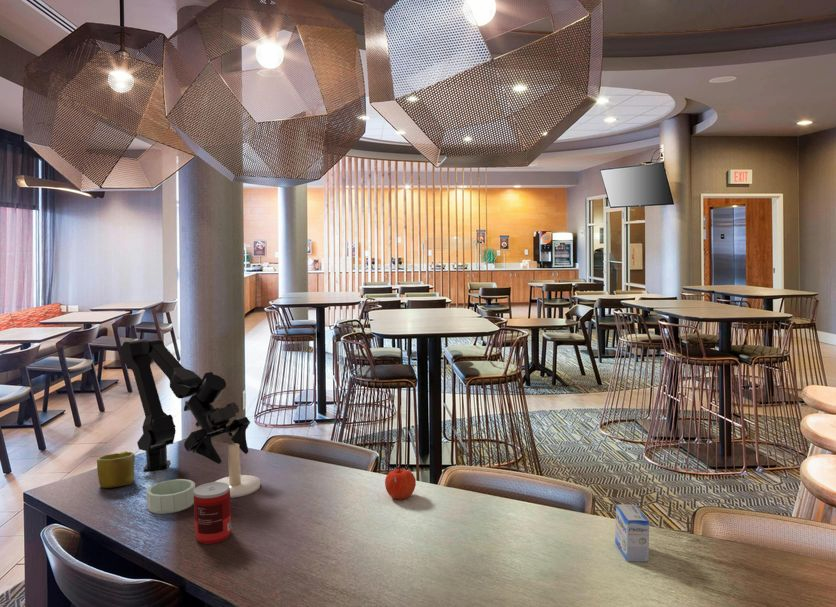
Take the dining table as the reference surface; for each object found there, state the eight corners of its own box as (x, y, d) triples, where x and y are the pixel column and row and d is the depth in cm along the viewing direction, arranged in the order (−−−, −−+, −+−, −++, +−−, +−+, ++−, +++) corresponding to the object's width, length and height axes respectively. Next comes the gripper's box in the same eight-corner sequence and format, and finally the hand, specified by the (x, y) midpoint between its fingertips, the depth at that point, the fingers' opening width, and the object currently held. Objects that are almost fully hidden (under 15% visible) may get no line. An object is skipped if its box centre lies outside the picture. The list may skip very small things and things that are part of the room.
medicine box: (614, 543, 124) (615, 503, 124) (635, 543, 124) (636, 503, 124) (626, 562, 117) (627, 520, 116) (649, 562, 116) (649, 520, 116)
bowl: (152, 498, 151) (151, 481, 151) (197, 493, 154) (196, 477, 154) (143, 516, 141) (142, 498, 141) (191, 510, 143) (191, 493, 143)
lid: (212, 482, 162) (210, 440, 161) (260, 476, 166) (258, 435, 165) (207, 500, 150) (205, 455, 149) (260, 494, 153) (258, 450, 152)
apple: (409, 505, 145) (408, 473, 145) (379, 500, 148) (379, 470, 148) (420, 493, 153) (420, 463, 152) (392, 489, 156) (392, 460, 155)
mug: (128, 484, 156) (119, 448, 157) (93, 496, 156) (84, 460, 158) (152, 477, 168) (144, 443, 170) (120, 487, 169) (111, 454, 170)
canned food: (221, 525, 136) (219, 479, 135) (238, 536, 130) (236, 488, 129) (189, 536, 130) (187, 488, 129) (204, 548, 125) (202, 498, 124)
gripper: (189, 402, 151) (219, 450, 146) (244, 388, 167) (273, 431, 162) (171, 428, 156) (200, 475, 151) (226, 412, 171) (254, 454, 167)
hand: (234, 457), depth 157 cm, fingers open, 9 cm apart
